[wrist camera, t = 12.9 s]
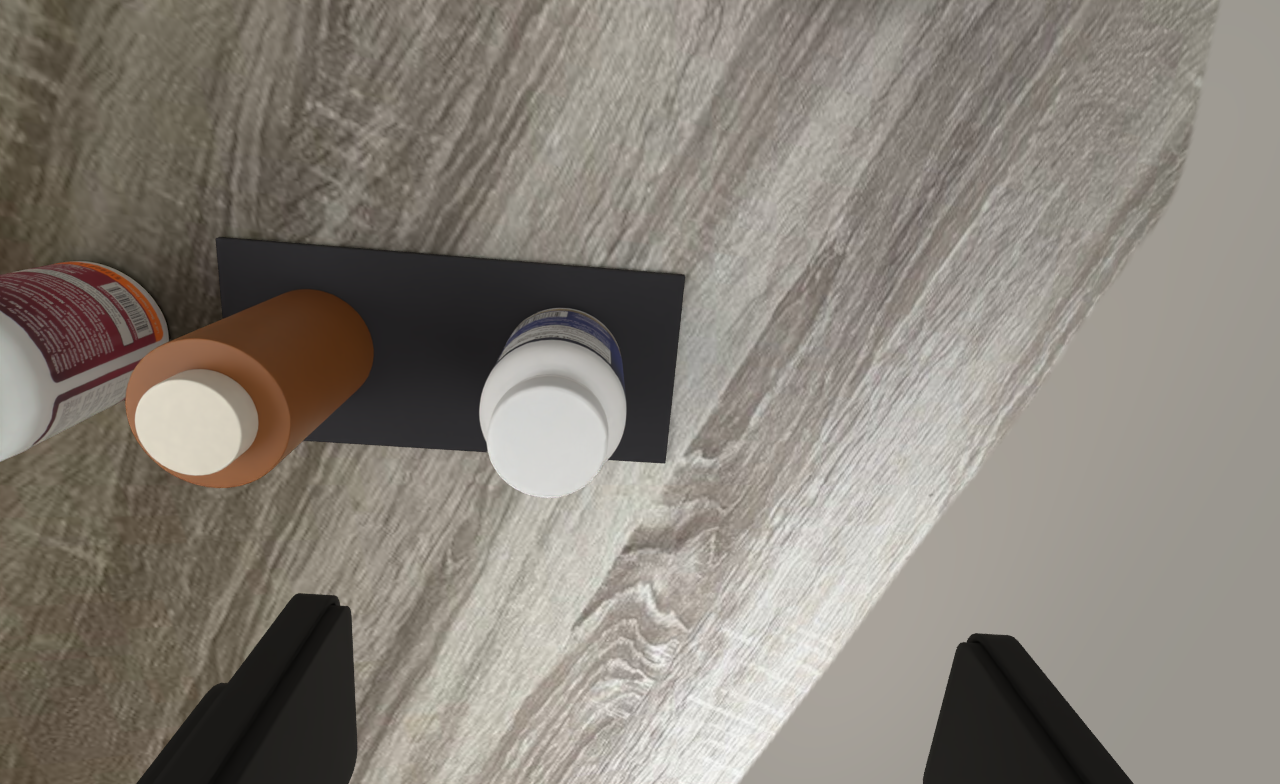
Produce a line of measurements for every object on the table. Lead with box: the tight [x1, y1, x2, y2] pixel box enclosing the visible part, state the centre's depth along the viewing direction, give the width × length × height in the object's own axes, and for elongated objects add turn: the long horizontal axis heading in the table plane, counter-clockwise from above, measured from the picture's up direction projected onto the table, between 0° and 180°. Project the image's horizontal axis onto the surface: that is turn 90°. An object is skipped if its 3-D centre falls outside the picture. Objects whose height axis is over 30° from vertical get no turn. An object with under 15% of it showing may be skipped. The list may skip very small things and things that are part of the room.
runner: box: [216, 237, 685, 463], centre depth 33 cm, size 20×9×1 cm, turn 85°
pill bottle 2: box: [479, 308, 626, 498], centre depth 28 cm, size 5×5×10 cm
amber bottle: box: [125, 289, 374, 488], centre depth 27 cm, size 5×5×10 cm
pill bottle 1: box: [0, 261, 169, 461], centre depth 27 cm, size 6×6×11 cm
